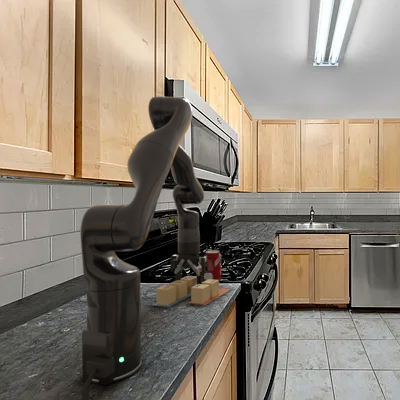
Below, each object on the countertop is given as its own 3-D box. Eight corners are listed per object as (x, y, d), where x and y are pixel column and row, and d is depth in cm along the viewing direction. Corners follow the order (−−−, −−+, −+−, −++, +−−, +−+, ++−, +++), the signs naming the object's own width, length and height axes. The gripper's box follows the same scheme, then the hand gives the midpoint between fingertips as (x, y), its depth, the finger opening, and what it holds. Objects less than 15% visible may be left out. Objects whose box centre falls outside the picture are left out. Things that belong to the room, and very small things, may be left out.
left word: (168, 307, 96) (168, 290, 96) (151, 305, 98) (151, 289, 98) (201, 290, 113) (201, 276, 113) (186, 289, 115) (186, 274, 115)
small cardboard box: (190, 293, 109) (190, 279, 109) (180, 292, 110) (180, 278, 110) (197, 290, 113) (197, 276, 113) (187, 289, 114) (187, 275, 114)
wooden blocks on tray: (204, 305, 98) (204, 289, 98) (187, 303, 99) (187, 287, 99) (230, 289, 114) (230, 275, 114) (215, 288, 116) (215, 274, 116)
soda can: (211, 283, 122) (210, 253, 122) (200, 280, 126) (200, 251, 126) (224, 279, 127) (224, 251, 127) (214, 277, 131) (214, 249, 131)
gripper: (165, 240, 109) (165, 285, 110) (200, 242, 106) (200, 289, 106) (178, 237, 117) (179, 280, 117) (212, 239, 113) (212, 283, 113)
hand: (189, 284), depth 111 cm, fingers open, 8 cm apart
